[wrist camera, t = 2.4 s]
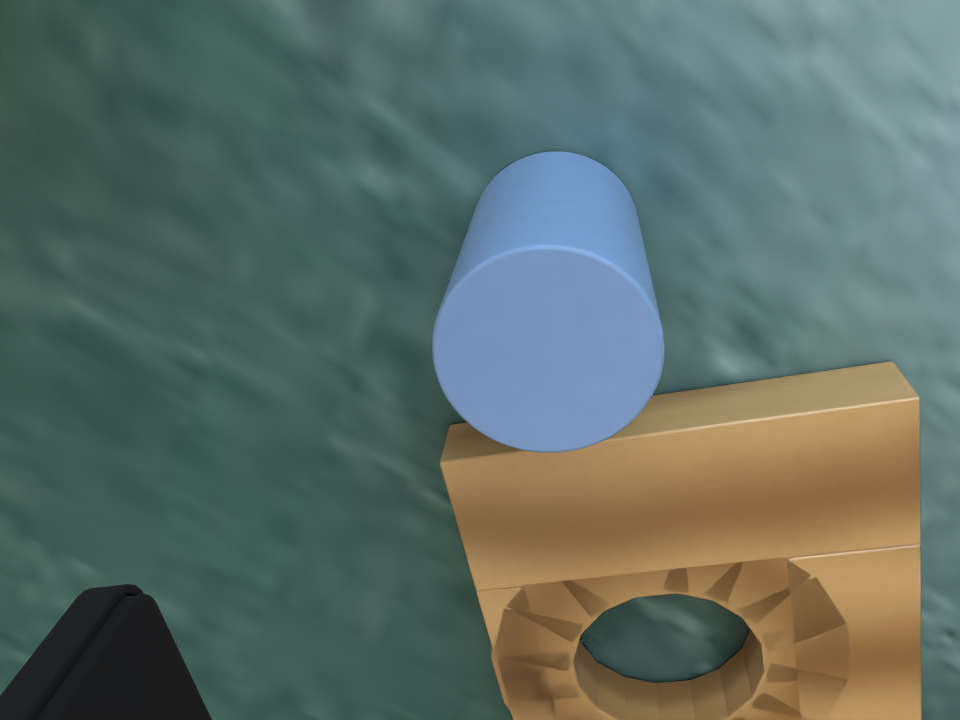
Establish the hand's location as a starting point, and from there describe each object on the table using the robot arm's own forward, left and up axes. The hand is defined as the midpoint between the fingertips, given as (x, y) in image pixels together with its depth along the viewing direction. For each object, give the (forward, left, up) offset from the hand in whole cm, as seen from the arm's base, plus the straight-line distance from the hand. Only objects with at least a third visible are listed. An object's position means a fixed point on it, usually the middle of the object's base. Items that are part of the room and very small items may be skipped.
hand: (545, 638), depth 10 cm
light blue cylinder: (0, 0, -14) cm, 14 cm away
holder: (+13, +2, -14) cm, 18 cm away
